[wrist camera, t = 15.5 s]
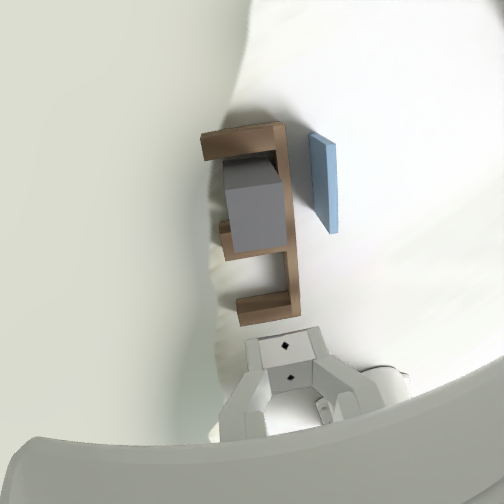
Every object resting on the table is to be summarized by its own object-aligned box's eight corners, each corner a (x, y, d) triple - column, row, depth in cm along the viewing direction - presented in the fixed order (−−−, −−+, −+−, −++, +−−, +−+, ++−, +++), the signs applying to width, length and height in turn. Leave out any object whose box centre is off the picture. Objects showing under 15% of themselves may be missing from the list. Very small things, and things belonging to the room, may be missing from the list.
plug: (270, 204, 30) (287, 245, 24) (230, 210, 30) (234, 252, 23) (266, 155, 28) (282, 182, 21) (222, 161, 28) (224, 190, 21)
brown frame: (323, 296, 37) (335, 324, 33) (238, 312, 37) (242, 342, 33) (315, 117, 26) (334, 125, 22) (201, 133, 26) (198, 144, 22)
